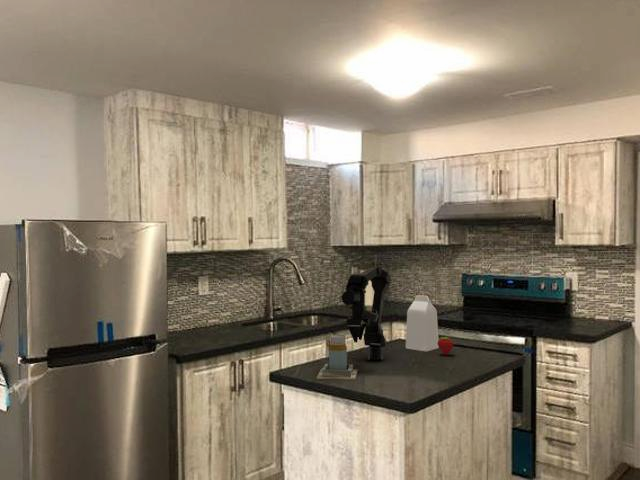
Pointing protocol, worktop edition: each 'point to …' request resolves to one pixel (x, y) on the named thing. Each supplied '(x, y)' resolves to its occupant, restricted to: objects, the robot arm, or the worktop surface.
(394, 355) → the worktop surface
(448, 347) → the strawberry
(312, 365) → the worktop surface
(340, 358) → the bottle
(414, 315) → the milk
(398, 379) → the worktop surface
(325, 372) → the square rimmed tray
